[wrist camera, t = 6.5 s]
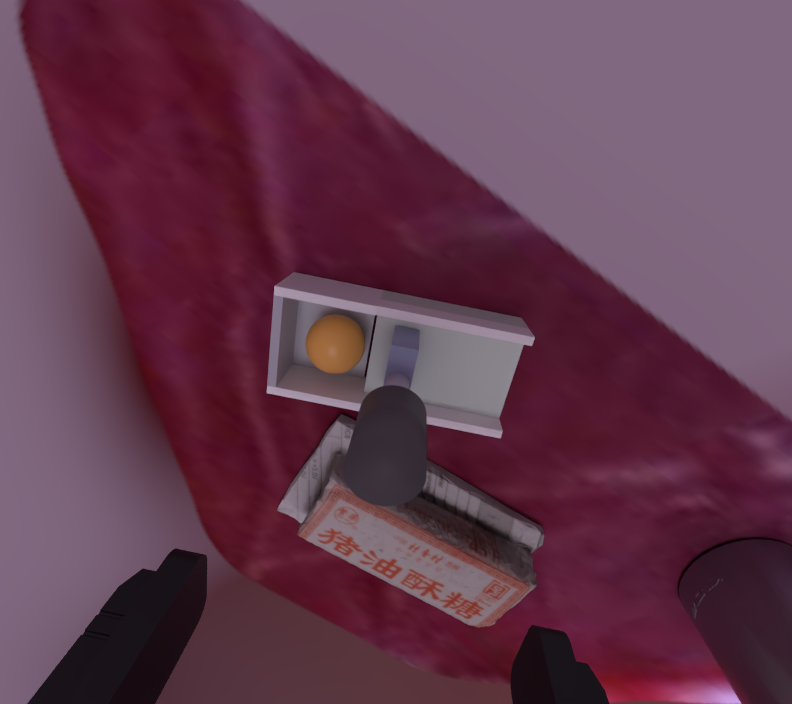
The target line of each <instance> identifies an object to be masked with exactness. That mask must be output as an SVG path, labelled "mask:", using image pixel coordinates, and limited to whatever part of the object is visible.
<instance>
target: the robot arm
mask: <svg viewBox="0 0 792 704" xmlns="http://www.w3.org/2000/svg"><path fill="white" fill-rule="evenodd" d="M206 596H207V556H206V555H204V554H199V553H194V552H189V551H185V550H180V549H174V550H172V551H171V552H170V553H169V554H168V556H167V557H166V558H165V560H164V561H163V563H162V564H161V565H160V567H159V568H158V570H157V571H151V570H147V569H142V570H140V571H139V572H138V573H136V574H135V575H134V576H132V577H131V578H130V579H128V580H127V581H126V582H124V583H123V584H122V585H120V586H119V587H118V588H117V590H116V591H115V592H114V593H113V595H112V596H111V597H110V598H109V600H108V601H107V602H106V604H105V605H104V606H103V607H102V609H101V611H100V613H99V614H98V615H96V616H95V618H94V619H93V620H92V622H91V623H90V624H89V625H88V627H87V628H86V629H85V632H84V634H83V635H81V636H80V637H79V638H78V639H77V641H76V642H75V643H74V645H73V646H72V647H71V649H70V650H69V651H68V652H67V654H66V655H65V656H64V657H63V659H62V660H61V661H60V663H59V664H58V665H57V666H56V668H55V669H54V670H53V672H52V673H51V674H50V675H49V677H48V678H47V679H46V681H45V682H44V683H43V684H42V686H41V687H40V688H39V690H38V691H37V692H36V693H35V695H34V696H33V697H32V699H31V700H30V701H29V703H28V704H155V703H156V701H157V699H158V697H159V696H160V694H161V692H162V690H163V688H164V686H165V684H166V682H167V681H168V679H169V677H170V675H171V673H172V671H173V669H174V668H175V666H176V664H177V662H178V660H179V658H180V656H181V654H182V653H183V651H184V649H185V647H186V645H187V643H188V641H189V639H190V638H191V636H192V634H193V632H194V630H195V628H196V626H197V624H198V622H199V620H200V618H201V615H202V612H203V609H204V606H205V602H206ZM679 596H680V600H681V602H682V604H683V606H684V608H685V609H686V611H687V613H688V614H689V616H690V618H691V619H692V621H693V623H694V625H695V626H696V628H697V630H698V631H699V633H700V635H701V636H702V638H703V640H704V641H705V643H706V645H707V646H708V648H709V650H710V651H711V653H712V655H713V657H714V658H715V660H716V662H717V663H718V665H719V667H720V668H721V670H722V672H723V673H724V675H725V677H726V678H727V680H728V682H729V683H730V685H731V687H732V688H733V690H734V692H735V693H736V695H737V697H738V698H739V700H740V702H741V704H792V546H790V545H788V544H785V543H783V542H778V541H773V540H765V539H752V540H742V541H737V542H733V543H729V544H726V545H723V546H721V547H718V548H716V549H713V550H711V551H710V552H708V553H706V554H704V555H703V556H701V557H700V558H699V559H697V560H696V561H695V562H694V563H693V564H691V566H690V567H689V568H688V569H687V571H686V572H685V573H684V575H683V577H682V579H681V581H680V586H679ZM511 694H512V700H513V704H609V701H608V699H607V696H606V693H605V690H604V689H603V687H602V686H601V684H600V682H599V681H598V679H597V678H596V676H595V675H594V673H593V671H592V670H591V668H590V667H589V665H588V664H586V663H581V662H576V660H575V657H574V653H573V650H572V647H571V643H570V640H569V638H568V636H567V635H566V633H565V632H563V631H559V630H554V629H549V628H544V627H540V626H535V625H532V626H531V627H530V628H529V630H528V632H527V634H526V636H525V639H524V641H523V643H522V645H521V647H520V649H519V651H518V653H517V655H516V658H515V660H514V662H513V665H512V670H511Z"/></svg>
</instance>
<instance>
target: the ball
mask: <svg viewBox="0 0 792 704" xmlns="http://www.w3.org/2000/svg"><path fill="white" fill-rule="evenodd" d="M305 346H306V352H307V355H308V357H309V359H310V361H311V362H312V363H313V364H314V365H315V366H316V367H317V368H319V369H320V370H322V371H324V372H327V373H332V374H339V373H344V372H347V371H349V370H351V369H352V368H354V367H355V366H356V365H357V364H358V363H359V362H360V360H361V359H362V357H363V354H364V351H365V337H364V334H363V331H362V329H361V328H360V326H359V325H358V324H357V323H356V322H355V321H354V320H352V319H351V318H349V317H346V316H344V315H338V314H332V315H327V316H324V317H322V318H320V319H318V320H317V321H316V322H315V323H314V324H313V325H312V326H311V327H310V329H309V331H308V333H307V336H306V343H305Z"/></svg>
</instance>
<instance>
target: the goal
mask: <svg viewBox="0 0 792 704" xmlns="http://www.w3.org/2000/svg"><path fill="white" fill-rule="evenodd" d="M383 291H384V290H381V289H376V288H371V287H366V286H361V285H356V284H351V283H346V282H341V281H336V280H331V279H326V278H321V277H316V276H311V275H306V274H301V273H296V272H293V273H292V274H291V275H289V276H288V277H286V278H285V279H284V280H282V281H281V282H279V283H278V284H277V285H275V286H274V300H273V314H272V327H271V341H270V355H269V368H268V382H267V393H269V394H274V395H279V396H284V397H289V398H294V399H299V400H304V401H309V402H315V403H320V404H325V405H330V406H335V407H340V408H345V409H350V410H355V411H359V409H360V403H361V400H362V396H363V393H364V388H365V382H366V377H364V376H365V370H366V364H367V359H368V353H369V347H370V341H371V336H372V330H373V324H374V319H375V315H376V312H377V306H378V304H379V301H380V298H381V296H382V293H383ZM332 314H338V315H344V316H346V317H349V318H351V319H352V320H354V321H355V322H356V323H357V324H358V325H359V326H360V328H361V329H362V331H363V334H364V337H365V351H364V354H363V357H362V359H361V360H360V362H359V363H358V364H357V365H356V366H355V367H354V368H352V369H351V370H349V371H347V372H344V373H339V374H332V373H327V372H324V371H322V370H320V369H319V368H317V367H316V366H315V365H314V364H313V363H312V362H311V361H310V359H309V357H308V355H307V352H306V346H305V343H306V336H307V333H308V331H309V329H310V327H311V326H312V325H313V324H314V323H315V322H316V321H317V320H318V319H320V318H322V317H324V316H327V315H332Z"/></svg>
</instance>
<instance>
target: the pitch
mask: <svg viewBox="0 0 792 704" xmlns="http://www.w3.org/2000/svg"><path fill="white" fill-rule="evenodd" d="M376 315H377V320H376V326H375V332H374V337H373V343H372V349H371V354H370V360H369V365H368V371H367V377H366V382H365V388H364V393H363V396H362V400H361V403H360V406H361V404H362V401H363V400H364V398H365V397H366V396H367V395H368V394H369V393H370V392H371V391H373V390H374V389H376V388H379V387H382V386H383V384H384V379H385V374H386V369H387V364H388V359H389V354H390V349H391V344H392V339H393V334H394V330H395V325H396V326H401V327H406V328H411V329H416V330H420V335H419V352H418V356H417V360H416V365H415V369H414V374H413V378H412V383H411V387H410V390H411V391H413V392H414V393H416V394H417V395H418V396H419V397H420V399H421V400H422V402H423V403H424V405H425V408H426V413H427V424H430V425H435V426H440V427H445V428H450V429H456V430H461V431H466V432H471V433H476V434H481V435H486V436H491V437H496V438H501V435H502V432H503V430H502V427H501V423H500V420H499V417H500V414H501V411H502V408H503V405H504V402H505V399H506V396H507V393H508V390H509V387H510V384H511V381H512V378H513V375H514V372H515V369H516V366H517V363H518V360H519V357H520V354H521V351H522V348H523V345H529V346H532V345H533V342H534V339H535V337H534V335H533V334H532V332H531V331H530V330H529V328H528V327H527V325H526V324H525V322H524V321H523V319H522V318H520V317H515V316H510V315H505V314H500V313H495V312H490V311H485V310H480V309H475V308H470V307H465V306H460V305H455V304H450V303H445V302H440V301H435V300H430V299H425V298H421V297H416V296H411V295H406V294H401V293H396V292H391V291H386V290H384V291H383V293H382V296H381V298H380V301H379V304H378V306H377V312H376ZM359 410H360V409H359Z"/></svg>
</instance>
